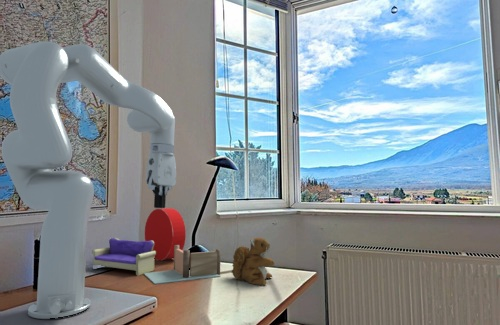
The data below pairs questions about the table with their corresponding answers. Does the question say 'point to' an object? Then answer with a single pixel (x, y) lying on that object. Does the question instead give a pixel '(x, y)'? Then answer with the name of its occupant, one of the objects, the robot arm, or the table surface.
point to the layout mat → (173, 276)
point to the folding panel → (178, 259)
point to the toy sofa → (126, 255)
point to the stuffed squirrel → (252, 262)
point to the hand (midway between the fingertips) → (159, 207)
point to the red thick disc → (165, 232)
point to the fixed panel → (201, 263)
